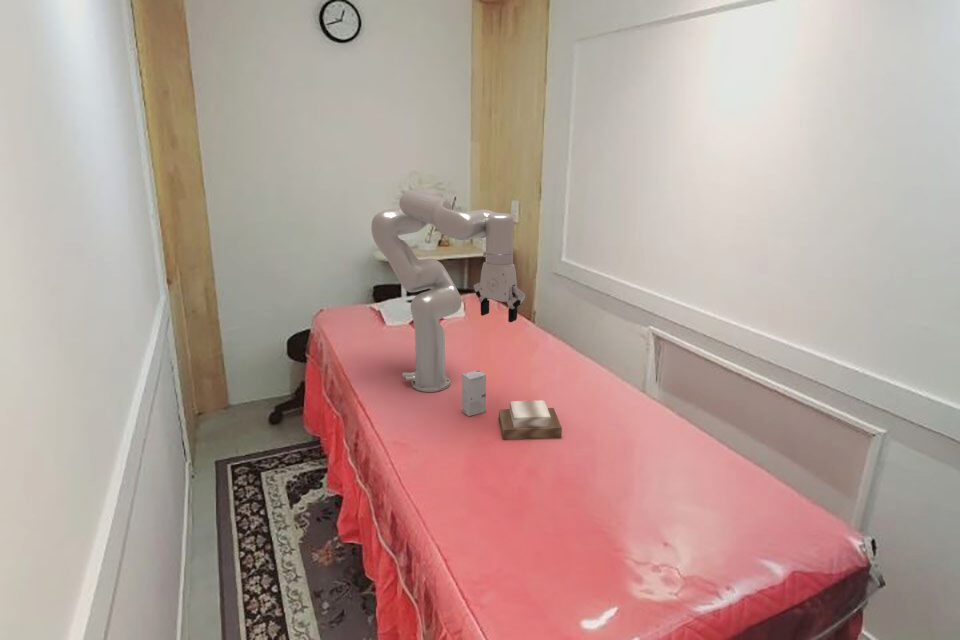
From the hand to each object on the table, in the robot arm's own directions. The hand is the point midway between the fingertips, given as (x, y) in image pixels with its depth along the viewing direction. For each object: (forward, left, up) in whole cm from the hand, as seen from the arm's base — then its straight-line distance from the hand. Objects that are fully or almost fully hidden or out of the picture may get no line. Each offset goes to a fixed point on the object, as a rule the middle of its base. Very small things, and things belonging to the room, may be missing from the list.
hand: (498, 317), depth 166 cm
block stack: (+8, -11, -29) cm, 32 cm away
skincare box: (-7, 0, -29) cm, 30 cm away
